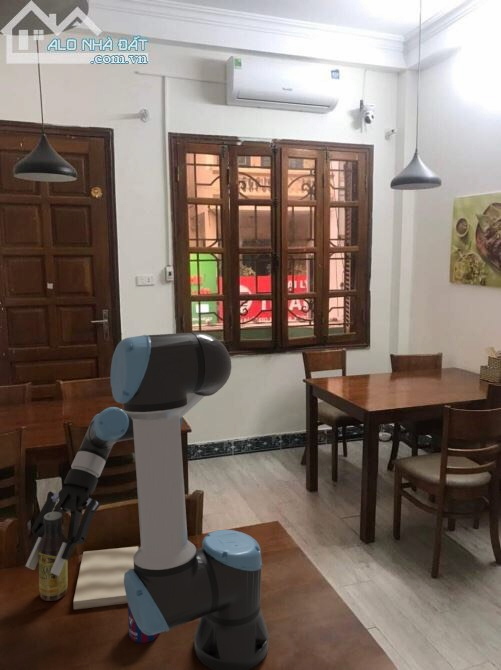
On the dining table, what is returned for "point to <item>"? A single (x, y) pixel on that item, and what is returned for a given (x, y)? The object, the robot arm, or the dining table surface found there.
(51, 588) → the sauce bottle
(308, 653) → the dining table surface
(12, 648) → the dining table surface
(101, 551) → the birch board
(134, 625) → the mug
